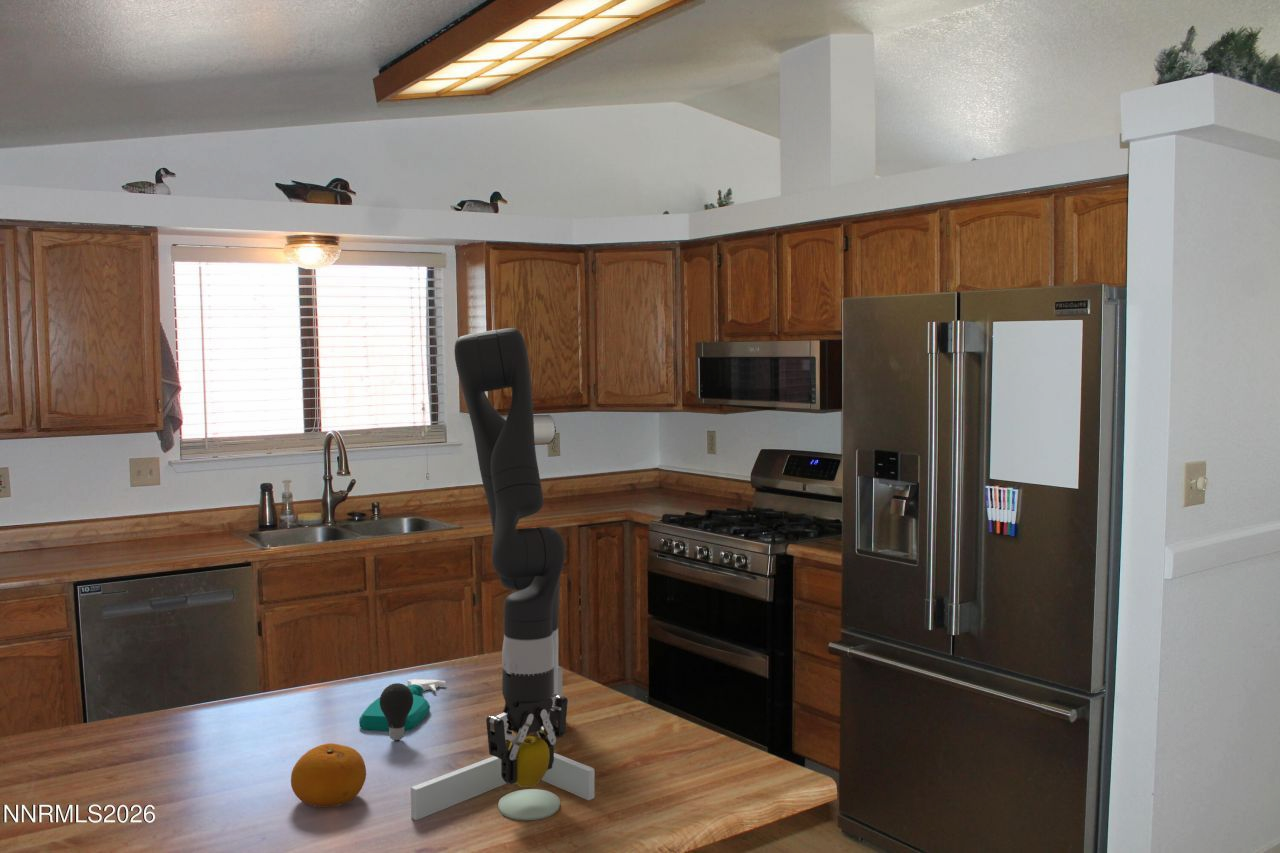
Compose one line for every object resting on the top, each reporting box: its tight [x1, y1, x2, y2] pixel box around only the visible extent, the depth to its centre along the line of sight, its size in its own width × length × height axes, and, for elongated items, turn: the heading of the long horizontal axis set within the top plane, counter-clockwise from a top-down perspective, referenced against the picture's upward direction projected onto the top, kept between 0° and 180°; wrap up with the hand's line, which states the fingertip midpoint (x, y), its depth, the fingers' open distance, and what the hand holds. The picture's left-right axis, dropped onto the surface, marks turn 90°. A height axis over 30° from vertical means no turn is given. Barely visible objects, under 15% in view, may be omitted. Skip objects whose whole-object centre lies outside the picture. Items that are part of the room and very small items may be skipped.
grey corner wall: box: [410, 752, 596, 821], centre depth 150 cm, size 23×15×4 cm, turn 138°
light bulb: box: [379, 682, 413, 743], centre depth 174 cm, size 6×6×10 cm
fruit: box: [290, 743, 367, 808], centre depth 151 cm, size 10×10×8 cm
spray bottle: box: [358, 678, 446, 733], centre depth 191 cm, size 3×11×24 cm
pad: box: [497, 788, 561, 822], centre depth 150 cm, size 9×9×1 cm
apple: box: [509, 735, 550, 788], centre depth 150 cm, size 6×6×8 cm
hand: (527, 774), depth 150 cm, fingers closed on apple, 6 cm apart
